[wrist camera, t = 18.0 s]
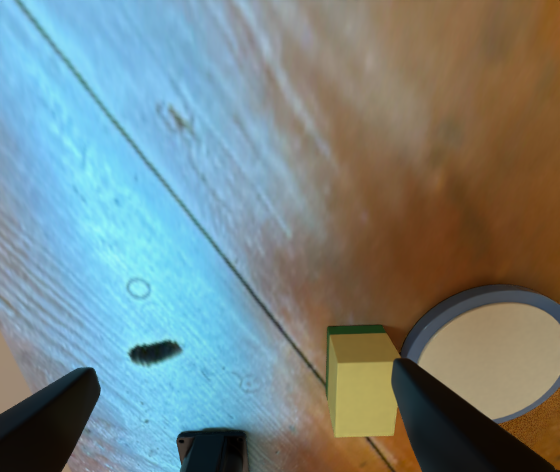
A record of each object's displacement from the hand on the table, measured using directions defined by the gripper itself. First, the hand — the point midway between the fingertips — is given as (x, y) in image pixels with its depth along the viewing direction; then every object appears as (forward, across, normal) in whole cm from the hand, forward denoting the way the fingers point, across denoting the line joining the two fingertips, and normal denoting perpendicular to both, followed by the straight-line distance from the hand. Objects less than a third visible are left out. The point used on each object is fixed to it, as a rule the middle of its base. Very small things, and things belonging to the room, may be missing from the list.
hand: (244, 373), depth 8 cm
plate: (+12, -18, +11) cm, 24 cm away
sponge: (+12, -7, +11) cm, 18 cm away
